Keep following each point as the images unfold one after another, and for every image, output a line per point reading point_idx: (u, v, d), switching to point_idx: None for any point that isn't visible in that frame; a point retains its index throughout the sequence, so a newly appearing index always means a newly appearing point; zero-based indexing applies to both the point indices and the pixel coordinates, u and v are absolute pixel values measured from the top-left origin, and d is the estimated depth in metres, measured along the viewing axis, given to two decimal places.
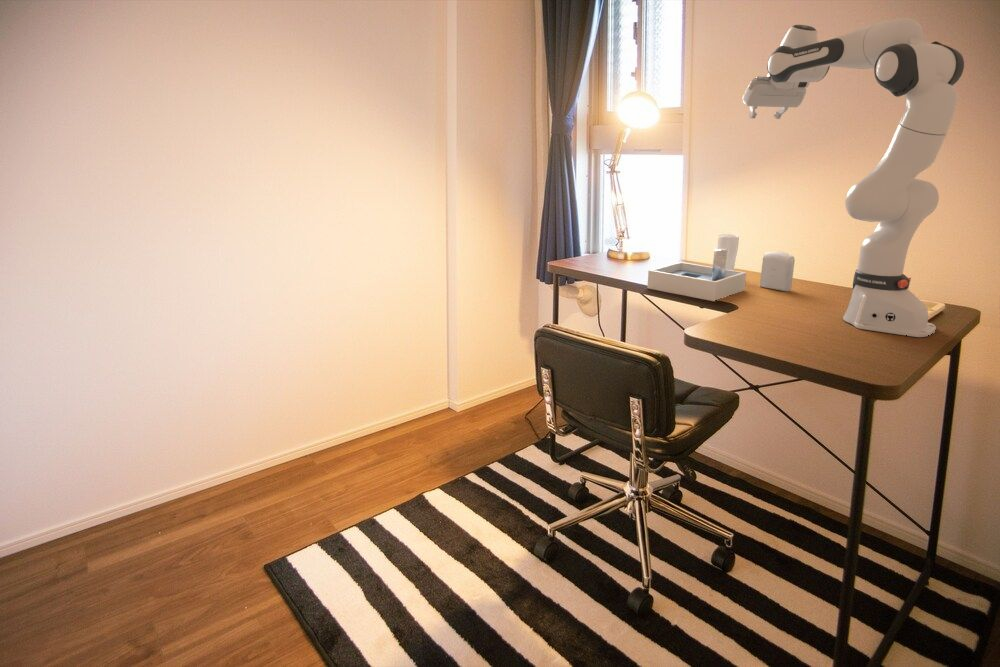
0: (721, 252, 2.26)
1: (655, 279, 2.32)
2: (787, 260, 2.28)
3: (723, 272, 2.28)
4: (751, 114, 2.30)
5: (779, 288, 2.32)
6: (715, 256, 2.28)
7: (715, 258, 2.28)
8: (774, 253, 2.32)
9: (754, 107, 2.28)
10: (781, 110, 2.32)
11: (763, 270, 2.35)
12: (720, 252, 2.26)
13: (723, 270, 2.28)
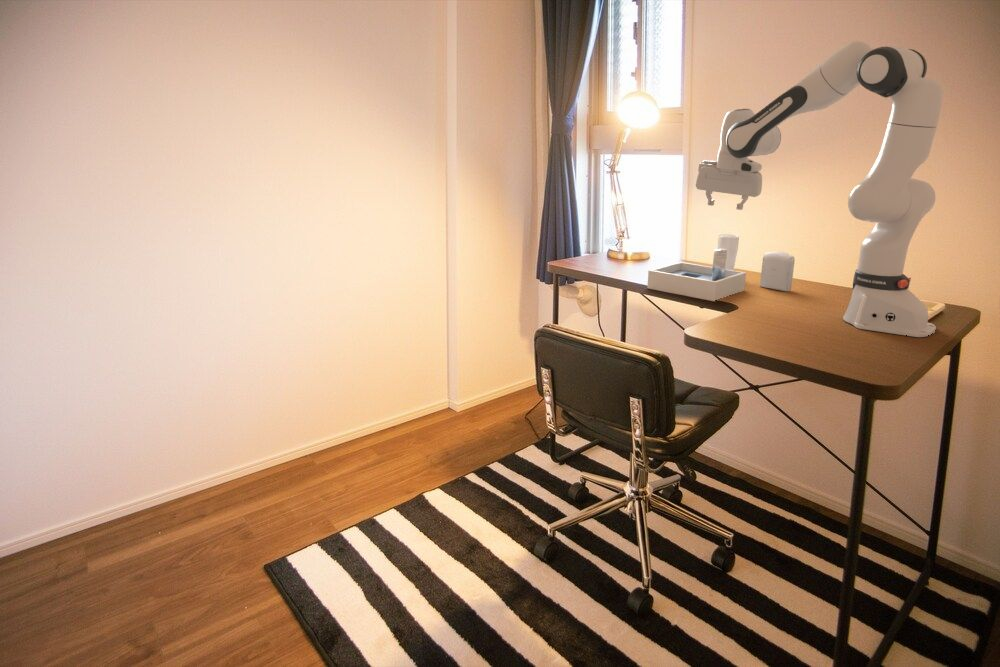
0: (721, 252, 2.26)
1: (655, 279, 2.32)
2: (787, 260, 2.28)
3: (723, 272, 2.28)
4: None
5: (779, 288, 2.32)
6: (715, 256, 2.27)
7: (715, 258, 2.28)
8: (774, 253, 2.32)
9: (707, 192, 2.28)
10: None
11: (763, 270, 2.35)
12: (719, 252, 2.26)
13: (723, 270, 2.28)
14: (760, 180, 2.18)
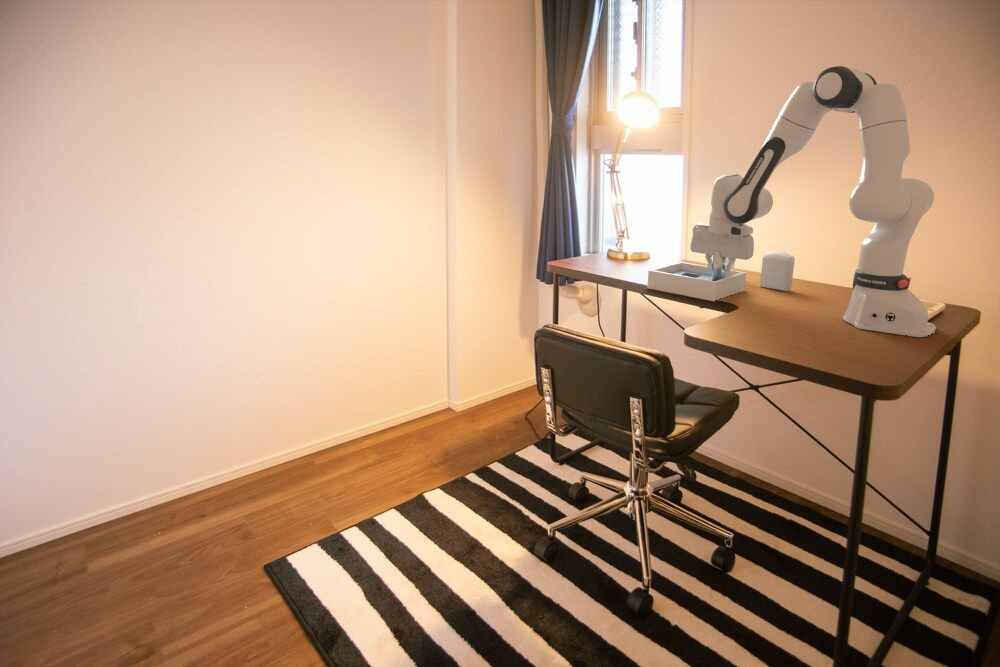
0: (720, 252, 2.26)
1: (655, 279, 2.32)
2: (787, 260, 2.28)
3: (723, 272, 2.28)
4: None
5: (779, 288, 2.32)
6: (714, 256, 2.28)
7: (715, 258, 2.28)
8: (774, 253, 2.32)
9: (706, 255, 2.30)
10: None
11: (763, 270, 2.35)
12: (719, 252, 2.26)
13: (723, 270, 2.28)
14: (751, 243, 2.21)
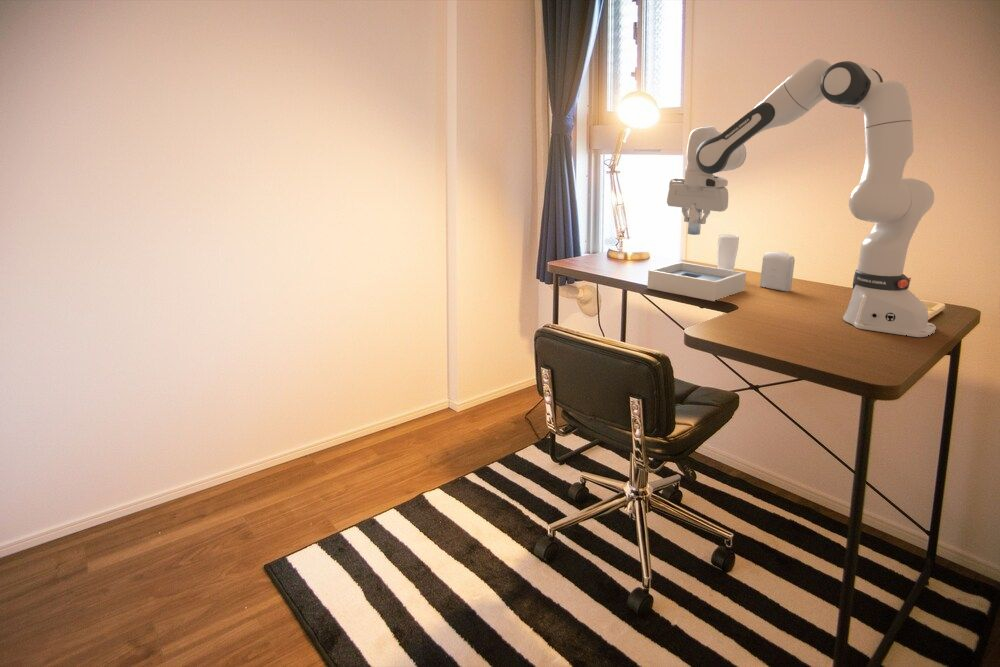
0: None
1: (655, 279, 2.32)
2: (787, 260, 2.28)
3: (699, 225, 2.31)
4: None
5: (779, 288, 2.32)
6: (691, 209, 2.30)
7: (691, 211, 2.30)
8: (774, 253, 2.32)
9: (683, 209, 2.33)
10: None
11: (763, 270, 2.35)
12: (695, 204, 2.29)
13: None
14: (725, 195, 2.23)
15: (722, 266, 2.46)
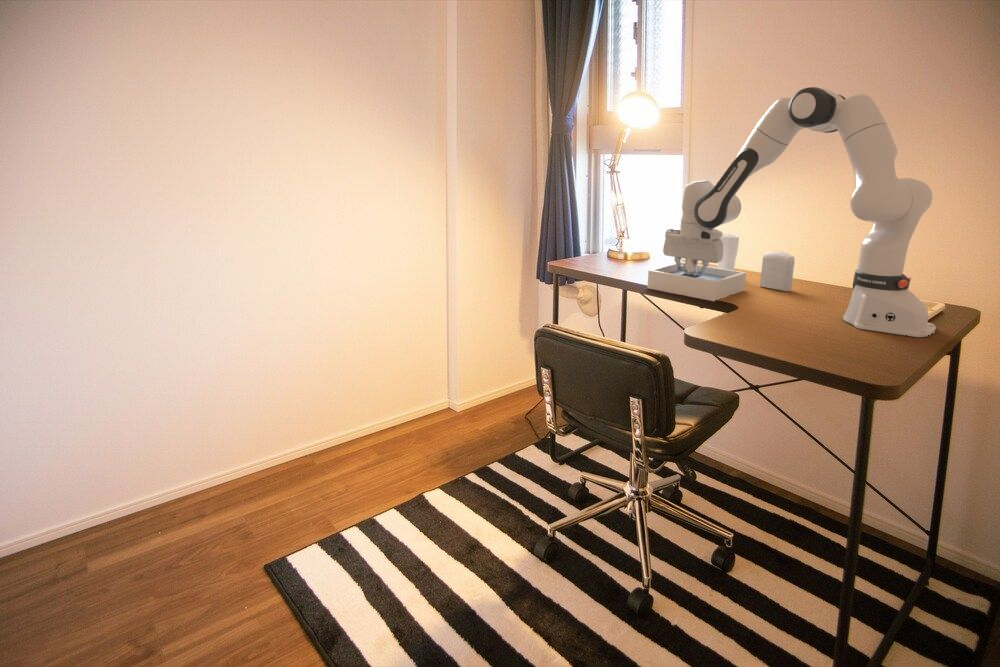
0: (692, 259, 2.34)
1: (655, 279, 2.32)
2: (787, 260, 2.28)
3: None
4: None
5: (779, 288, 2.32)
6: (686, 262, 2.35)
7: (686, 264, 2.35)
8: (774, 253, 2.32)
9: (675, 258, 2.38)
10: None
11: (763, 270, 2.35)
12: (691, 258, 2.34)
13: (694, 276, 2.35)
14: (720, 247, 2.28)
15: (722, 266, 2.46)
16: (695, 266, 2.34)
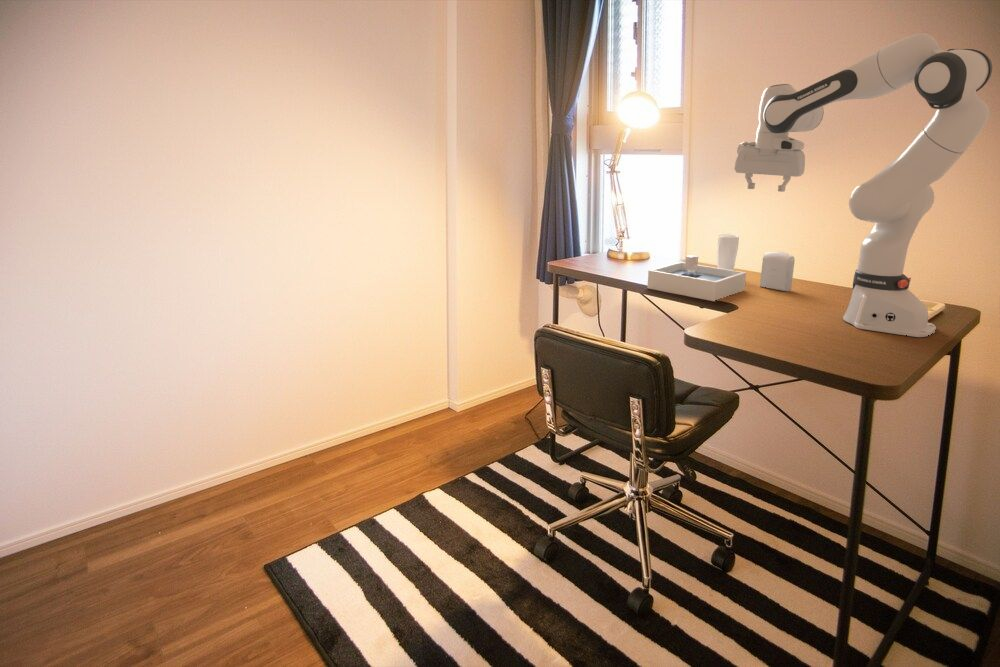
0: (692, 259, 2.34)
1: (655, 279, 2.32)
2: (787, 260, 2.28)
3: None
4: None
5: (779, 288, 2.32)
6: (686, 262, 2.35)
7: (686, 264, 2.35)
8: (774, 253, 2.32)
9: (746, 175, 2.17)
10: None
11: (763, 270, 2.35)
12: (691, 258, 2.34)
13: (694, 276, 2.35)
14: (802, 159, 2.06)
15: (722, 266, 2.46)
16: (695, 266, 2.34)
